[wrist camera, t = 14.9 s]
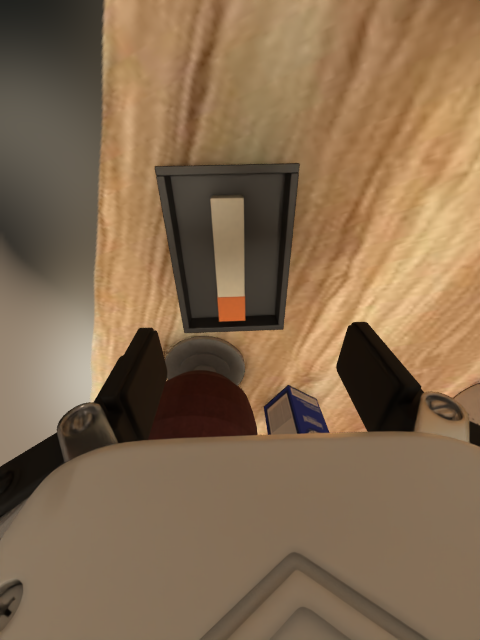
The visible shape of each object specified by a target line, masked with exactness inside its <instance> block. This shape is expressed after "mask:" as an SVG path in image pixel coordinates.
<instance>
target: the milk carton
mask: <svg viewBox="0 0 480 640" xmlns="http://www.w3.org/2000/svg"><path fill="white" fill-rule="evenodd" d="M264 411H265V418H266V425H267V431H268V435H277V434H307V433H329V430H328V428H327V425H326V423H325V420H324V417H323V415H322V412H321V410H320V407H319V404H318V402H317V399H315V398H313V397H311V396H309V395H307V394H305V393H303V392H301V391H298V390H296V389H294V388H292V387H290V386H287V387H286V388H285V389H283V390H282V391H281V392H280V393H279V394H278V395H277V396H276V397H275V398H273V399H272V400H271V401H270V402H269V403H268V404H267V405H266V406H264Z"/></svg>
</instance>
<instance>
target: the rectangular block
mask: <svg viewBox="0 0 480 640" xmlns="http://www.w3.org/2000/svg"><path fill="white" fill-rule="evenodd" d="M210 202H211V215H212V228H213V241H214V254H215V267H216V280H217V293H218V296H217V300H218V313H219V321H220V322H221V321H245V278H244V198H243V196H242V195H213V196H212V197H211V199H210Z"/></svg>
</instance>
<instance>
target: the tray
mask: <svg viewBox="0 0 480 640" xmlns="http://www.w3.org/2000/svg"><path fill="white" fill-rule="evenodd" d="M299 166H300V164H299V163H290V164H242V165H194V166H155V172H156V178H157V184H158V189H159V195H160V200H161V206H162V212H163V217H164V223H165V228H166V234H167V239H168V245H169V250H170V256H171V262H172V267H173V273H174V278H175V284H176V289H177V295H178V300H179V306H180V312H181V317H182V323H183V328H184V333H204V332H230V331H256V330H282V329H283V327H284V317H285V307H286V297H287V287H288V277H289V267H290V257H291V247H292V237H293V227H294V217H295V206H296V196H297V186H298V176H299ZM213 195H242V196H243V198H244V278H245V321H221V322H220V321H219V313H218V300H217V296H218V293H217V280H216V267H215V254H214V241H213V228H212V215H211V202H210V199H211V197H212V196H213Z"/></svg>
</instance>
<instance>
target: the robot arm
mask: <svg viewBox="0 0 480 640" xmlns="http://www.w3.org/2000/svg"><path fill="white" fill-rule="evenodd" d="M336 368H337V372H338V374H339V376H340V378H341V380H342V382H343V384H344V386H345V388H346V390H347V392H348V394H349V396H350V398H351V400H352V402H353V404H354V406H355V408H356V410H357V412H358V414H359V416H360V418H361V420H362V422H363V424H364V426H365V427H366V429H367V431H368V432H341V433H307V434H277V435H249V436H223V437H198V438H176V439H158V440H148V438H149V435H150V431H151V428H152V425H153V422H154V418H155V415H156V412H157V408H158V405H159V402H160V399H161V395H162V392H163V389H164V385H165V382H166V379H167V367H166V363H165V359H164V356H163V352H162V348H161V344H160V340H159V336H158V333H157V331H154V330H153V328H139V329H138V331H137V333H136V334H135V336H134V338H133V340H132V342H131V343H130V345H129V347H128V349H127V350H126V352H125V354H124V355H123V356H121V357H120V358H119V359H118V361H117V363H116V365H115V366H114V368H113V370H112V371H111V373H110V375H109V377H108V378H107V380H106V382H105V384H104V385H103V387H102V389H101V390H100V392H99V394H98V396H97V397H96V399H95V401H94V403H91V402H89V403H84V404H81V405H78V406H76V407H74V408H73V409H71V410H70V411H68V412H67V413H66V414H65V415H64V416H63V417H62V418H61V420H60V421H59V423H58V426H57V433H55V434H54V435H52V436H50V437H48V438H47V439H45V440H44V441H42V442H40V443H39V444H37V445H35V446H34V447H32V448H31V449H29V450H27V451H25V452H24V453H22V454H20V455H19V456H17V457H15V458H14V459H12V460H11V461H9V462H7V463H6V464H4V465H2V466H1V467H0V640H480V425H478V424H476V423H473V422H471V421H469V416H468V413H467V411H466V410H465V408H464V407H463V406H462V405H461V404H460V403H459V402H457V401H456V400H454V399H453V398H451V397H449V396H447V395H445V394H442V393H439V392H432V391H431V392H425V393H424V392H423V391H422V389H421V386H420V384H419V383H418V382H417V381H416V380H415V378H414V377H413V376H412V375H411V374H410V373H409V371H408V370H407V369H406V368H405V367H404V366H403V364H402V363H401V362H400V361H399V360H398V358H397V357H396V356H395V355H394V354H393V353H392V351H391V350H390V349H389V348H388V347H387V345H386V344H385V343H384V342H383V341H382V340H381V338H380V337H379V336H378V335H377V334H376V333H375V331H374V330H373V329H372V328H371V327H370V325H369V324H368V323H367V322H353V323H352V324H351V325H349V326H348V328H347V332H346V335H345V338H344V342H343V345H342V348H341V352H340V355H339V358H338V362H337V366H336Z"/></svg>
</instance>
